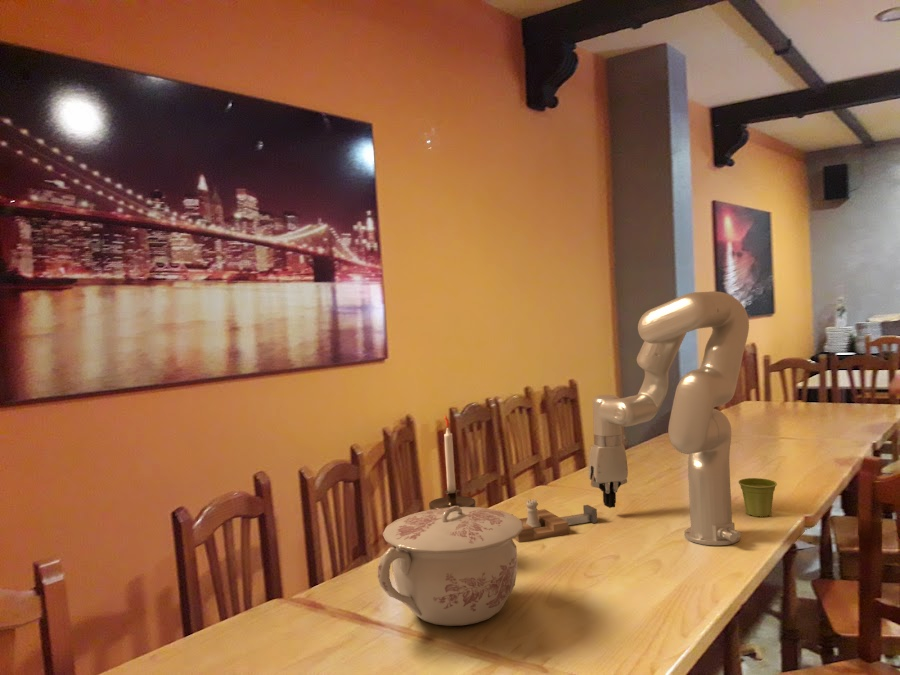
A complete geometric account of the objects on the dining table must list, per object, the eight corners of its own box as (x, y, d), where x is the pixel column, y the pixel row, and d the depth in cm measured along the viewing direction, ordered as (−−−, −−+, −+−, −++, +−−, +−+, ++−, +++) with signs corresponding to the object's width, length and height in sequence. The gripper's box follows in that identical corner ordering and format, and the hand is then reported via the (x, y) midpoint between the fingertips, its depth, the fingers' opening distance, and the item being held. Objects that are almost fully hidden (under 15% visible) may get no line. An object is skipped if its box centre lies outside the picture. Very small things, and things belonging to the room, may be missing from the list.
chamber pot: (518, 579, 149) (513, 484, 148) (539, 638, 122) (532, 522, 121) (388, 589, 148) (383, 493, 148) (380, 650, 121) (372, 533, 120)
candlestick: (426, 560, 164) (417, 414, 163) (468, 552, 168) (460, 409, 167) (442, 575, 154) (432, 419, 153) (486, 566, 158) (477, 414, 157)
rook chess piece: (530, 527, 185) (529, 497, 185) (545, 529, 182) (543, 499, 182) (521, 531, 182) (519, 501, 182) (536, 534, 179) (534, 503, 179)
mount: (568, 533, 178) (568, 522, 178) (518, 542, 174) (518, 530, 173) (545, 519, 191) (544, 509, 191) (498, 527, 187) (497, 516, 187)
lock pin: (597, 522, 185) (596, 509, 185) (559, 528, 182) (558, 515, 182) (588, 517, 190) (587, 504, 190) (550, 523, 187) (550, 510, 186)
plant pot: (774, 509, 188) (773, 478, 188) (781, 519, 179) (779, 486, 179) (737, 509, 191) (736, 477, 190) (742, 519, 181) (741, 486, 181)
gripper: (624, 435, 195) (625, 499, 196) (576, 440, 190) (578, 506, 191) (639, 440, 188) (640, 506, 189) (590, 445, 183) (592, 513, 184)
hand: (609, 506), depth 190 cm, fingers closed
